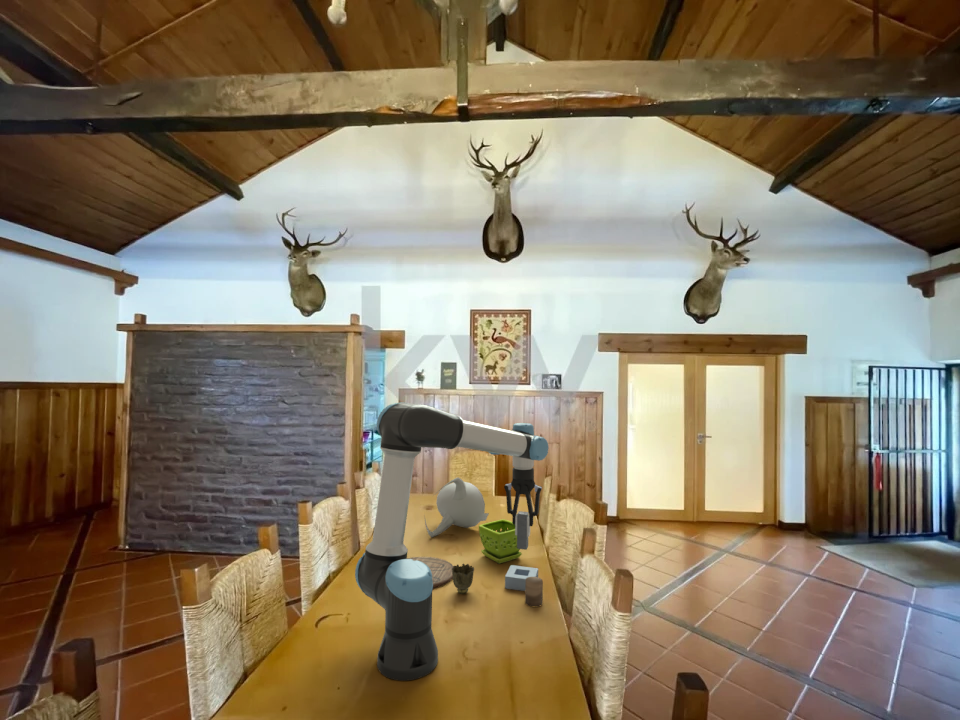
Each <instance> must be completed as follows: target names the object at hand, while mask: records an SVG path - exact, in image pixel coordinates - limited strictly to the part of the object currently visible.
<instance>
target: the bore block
mask: <svg viewBox="0 0 960 720" xmlns="http://www.w3.org/2000/svg"><path fill="white" fill-rule="evenodd" d="M528 577H538V578H539V568H537V567H529V566H523V565H522V566H521V565H515V564H511V565H510V566H509V568H508V570H507V572H506V573H505V575H504V589H508V590H515V591H522V592H523V591H524V592H525V583H526V578H528Z"/></svg>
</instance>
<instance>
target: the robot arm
mask: <svg viewBox="0 0 960 720" xmlns="http://www.w3.org/2000/svg"><path fill="white" fill-rule="evenodd" d="M534 429H535V428H534V425H533V424H532V423H527V422H518V423H517V422H516V423H514V424H513V425H512V429H511V430H509V429H505V428H501V427H496V426H492V425H488V424H482V423H478V422H475V421H474V422H473V421H471V420H469V421H468V420H465V419H463V418H462V417H461V416H460V415H458V414H456V413H455V414H454V413H451V412H447V411H444V410H441V409H438V408H436V407H432V406H429V405H426V404H420V403H419V404H418V403H410V402H406V401H405V402H404V401H403V402H401V401H400V402H393V403H390V404H389V405H387V406H386V407H384V408H383V409H382V411H380V413H379V414H378V417H377V420H376V430H377V432H378V434H379V436H380V438H381V439H380V447H379V448H380V450H381V451H382V453H384V458H383V462H382V463H383V465H382V471H381V477H380V484H379V485H380V486H379V491H378V492H379V493H378V499H377V505H376V514H375V519H374V520H375V521H374V527H373V534H372V540H371V541H370V542H369V543H368V544H367V545H366V546H365V551H364V553H362V556H361V557H359V559H358V561H357V563H356V566H355V571H354V576H355V582H356V583H357V585H358V587H359V589H360V590H361V592H362V593H363V594H364V595H365V596H366V597H368V598H370V599H371V600H373V601H374V602H375V603H377V605H379V606H380V607H381V608H382V609H384V611H385V615H384V616H385V621H384V626H385V627H384V634H383V637H382V640H381V643H380V645H379V649H378V652H377V657H376V658H377V661H376V664H377V665H376V666H377V667H376V668H377V669H378V671H379V672H380V674H381V675H383V676H384V677H385V678H388V679H391V680H394V681H403V682H404V681H412V680H417V679H419V678H423V677H425V676H427V675H429V674H430V673H432V671H434V670H435V668H436V667H437V665H438V661H439V660H438V659H439V649H438V646H437V641H436V639H435V636H434V633H433V628H432V624H433V623H432V621H433V618H432V615H433V590H434V588H433V581H432V573H431V570H430V568H429V567H428V566H427V565H426V564H424V563H423V562H421V561H418V560H416V561H413V559H407V558H408V551H409V550H408V548H407V546H406V545H405V544H404V540H405V533H406V525H407V519H408V510H409V504H410V495H411V489H412V481H413V480H412V479H413V473H414V464H415V459H416V457H418V455H420V454H421V453H422V448H428V449H429V448H435V449H436V448H437V449H445V450H454V449H456V448H457V447H458V448H463V449H468V450H469V449H470V450H475V451H482V452H488V454H490V455H493V456H494V455H498V456H499V455H506V456H510V457H512V477H511V478H512V480H511V482H510V483H506V484H505V485H504V487H503V488H504V491H505V495H506V511H507V514H510V515H511V517H512V520H511V522H512V523H513V525H515V535H517V514H518V508H519V503H520V496H521V495H525V499H526V504H527V512H528V517H527V536H528V537H530V536H531V527H533V525H534V517H537V516H538V515H539V513H540V498H541V497H540V496H541V492H542V490H543V487H542V486H539V485H537V484H536V482H535V475H534V474H535V469H534V466H535V461H543V460H544V459H546V457H547V456H548V453H549V442H548V440H547V439H546V438H545V437H544V436H539V435H535V430H534ZM512 488H513V490H514V491H515V496H514V503H513V504H512ZM533 489H534V492H535V499H534V508H533V501H532V496H531V492H532V490H533ZM512 505H513V506H512ZM512 507H513V508H512Z"/></svg>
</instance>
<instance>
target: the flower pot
mask: <svg viewBox="0 0 960 720" xmlns="http://www.w3.org/2000/svg"><path fill="white" fill-rule="evenodd" d="M478 531H479V537H480V542H481V545H482V546H483V548H484V549H482V550H481V553H482V554H483V555H484V557H487V558H488V559H490V560H491V561H494V562H495V563H497V564H498V565H500V564H502V563H507V562H509V561H513V560H516V559H518V558H520V557H521V556H522V555H523V553H522V552H520V550H521V549H517V535H515V525H513V523H512V520H508V519H502V518H501V519H498V520H494V521H490V522H486V523H481V524H479V525H478Z"/></svg>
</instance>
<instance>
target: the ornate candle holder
mask: <svg viewBox="0 0 960 720" xmlns="http://www.w3.org/2000/svg"><path fill="white" fill-rule="evenodd" d="M474 572H475V568H474V566H472V565H470V564H469V563H467V564H465V563H462V564H461V566H459V564H456V565H453V568H452V575H453V579H452V582H453V585H454V586H455V588H456V591H457V593H458V594H461V595H464V594H467V593H468V591H469V588H470V587H471V586H472V583H473V581H474Z"/></svg>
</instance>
